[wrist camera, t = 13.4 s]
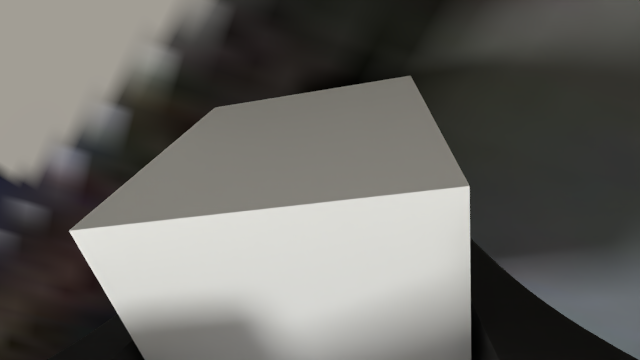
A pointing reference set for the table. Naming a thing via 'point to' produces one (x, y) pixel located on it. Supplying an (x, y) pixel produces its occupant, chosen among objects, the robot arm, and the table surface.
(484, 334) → the robot arm
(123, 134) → the table surface
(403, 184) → the cover
